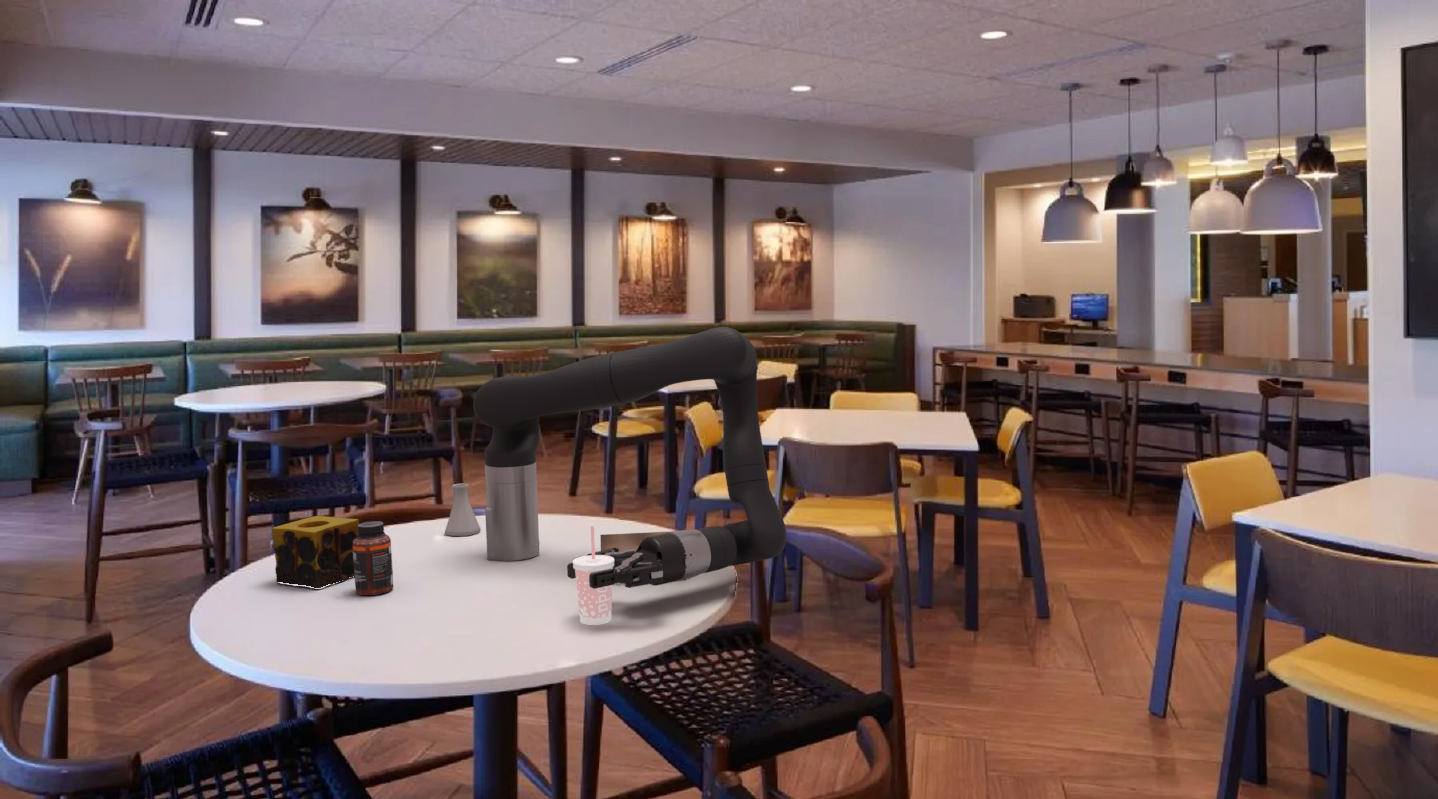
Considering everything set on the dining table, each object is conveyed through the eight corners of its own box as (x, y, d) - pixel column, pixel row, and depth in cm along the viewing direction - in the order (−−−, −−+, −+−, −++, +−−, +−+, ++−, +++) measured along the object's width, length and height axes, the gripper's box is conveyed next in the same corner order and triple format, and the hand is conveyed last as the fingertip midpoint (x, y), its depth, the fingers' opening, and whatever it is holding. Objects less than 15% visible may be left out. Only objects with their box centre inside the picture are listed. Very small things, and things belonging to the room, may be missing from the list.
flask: (471, 537, 198) (469, 488, 197) (437, 536, 199) (435, 487, 198) (486, 529, 205) (484, 481, 204) (454, 528, 206) (452, 481, 205)
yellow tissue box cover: (364, 575, 172) (361, 519, 171) (318, 591, 163) (315, 532, 162) (321, 569, 177) (318, 514, 176) (274, 584, 168) (270, 526, 167)
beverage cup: (581, 629, 142) (577, 533, 141) (569, 616, 148) (566, 524, 146) (621, 622, 144) (618, 528, 143) (609, 610, 150) (606, 520, 149)
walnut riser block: (601, 584, 164) (600, 554, 163) (601, 562, 178) (600, 534, 177) (685, 579, 166) (685, 550, 165) (679, 558, 179) (678, 531, 179)
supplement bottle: (401, 587, 164) (397, 520, 163) (378, 598, 159) (374, 528, 158) (371, 584, 166) (367, 518, 165) (347, 595, 161) (343, 526, 159)
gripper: (648, 524, 159) (555, 541, 149) (701, 541, 148) (603, 561, 138) (649, 570, 160) (556, 590, 150) (702, 590, 149) (605, 613, 139)
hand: (579, 576), depth 144 cm, fingers closed on beverage cup, 6 cm apart
